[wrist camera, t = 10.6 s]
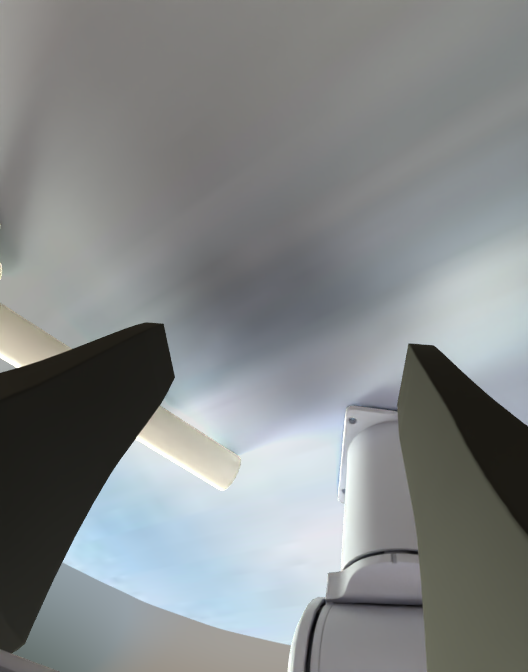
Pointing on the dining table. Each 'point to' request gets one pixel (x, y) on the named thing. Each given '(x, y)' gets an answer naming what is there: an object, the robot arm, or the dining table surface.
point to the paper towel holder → (161, 430)
